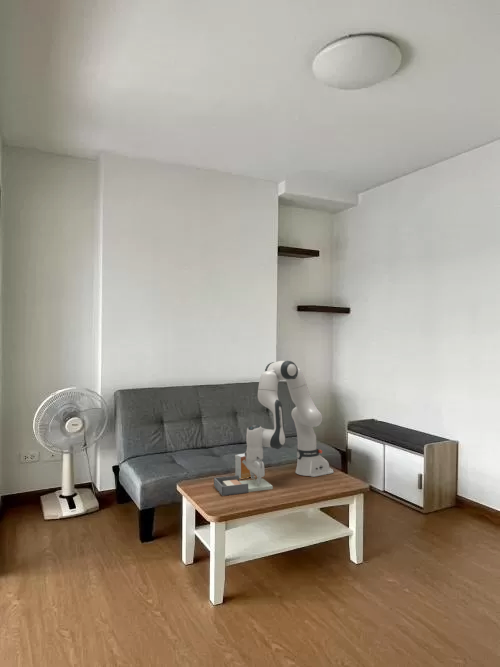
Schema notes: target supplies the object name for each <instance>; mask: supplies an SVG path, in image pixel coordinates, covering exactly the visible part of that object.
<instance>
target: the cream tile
mask: <svg viewBox="0 0 500 667" xmlns="http://www.w3.org/2000/svg"><path fill="white" fill-rule="evenodd" d="M230 485H234V484H233V483H232V482H231V481H230V480H228V481H223V486H230Z"/></svg>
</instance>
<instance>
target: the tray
mask: <svg viewBox="0 0 500 667" xmlns="http://www.w3.org/2000/svg"><path fill="white" fill-rule="evenodd" d="M228 480H238V481H240V479H239V475H235V474H234V475H226V476H218V477H213V487H214V486H215V487H214V488H215V490H217V491H219V492H218V493H219V494H220V495H221V496H222V497H223V496H224V497H225V496H227V497H228V496H234V495H242V494H248V493H249V492H248V483H247V484H239V485H230V486H223V481H228Z"/></svg>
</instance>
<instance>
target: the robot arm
mask: <svg viewBox="0 0 500 667" xmlns="http://www.w3.org/2000/svg"><path fill="white" fill-rule="evenodd" d="M283 380H284V381H285V382H286V385H287V388H288V392H289V395H290V398H291V402H292V403H293V404H294V406H295V407H294V408H292V410H291V418H292V420H293V421H294V427H295V430H296V435H297V437H296V438H297V448H296V459H297V462H296V463H297V464H296V468H295V474H297V475H300V476H304V477H305V476H307V477H308V476H309V477H319V476H325V475H330V474H334V469H333V468H331V467H330V464H329V461H328V460H327V459H325V458H324V457H323V456H322V455H320V454H323V450H322V449H319V448H317V434H316V433H315V431H314V428H316V427H319V426H320V425H321V423H322V422H323V414H322V413H321V412H320V410H318V408H317V406H316V405H315V403H314V400H313V399H312V396H311V394H310V391H309V388H308V384H307V381H306V378H305V376H304V374H303V372H302V370H301V368H299V367H297V365H296V363H295V362H293V361H291V360H278V361H273V362H272V361H271V362H269V363H268V364H266V367H265V369H264V371H263V372H262V373H261V374H260V377H259V381H258V388H257V400H258V402H259V404H261V406H263V407H265V408H266V409H268V410H270V412H271V413H272V415H273V418H272V419H273V429H270V428H264V427H262V426H261V425H260V424H256V423H254V424H251V425H248V426H247V428H246V435H245V437H246V451H244V453H245V456H246V466H247V469H249V470H250V475H251V478H250V480H254V479H257V483H258V484H260V483H261V479H262V478H263V477H265V474H266V473H265V470H266V469H265V464H264V461H262V460H264V448H272V449H276V450H280V449H281V448H282V447H284V445H285V444H286V434H285V427H284V424H285V423H284V414H283V413H284V412H283V411H284V410H283V404H282V402H281V401H280V400H279V396H278V392H279V391H278V388H279V385H278V384H279V382H280V381H283ZM263 447H264V448H263Z"/></svg>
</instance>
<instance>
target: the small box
mask: <svg viewBox="0 0 500 667" xmlns="http://www.w3.org/2000/svg"><path fill="white" fill-rule="evenodd" d="M234 456H235V457H234V459H235V462H234V463H235V464H234V467H235V473H234V475H239V478H246V479H248V478H247V477H251V475H250V470H249V469H247V466H246V456H245V452H244V453H238V454H235V455H234Z"/></svg>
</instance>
